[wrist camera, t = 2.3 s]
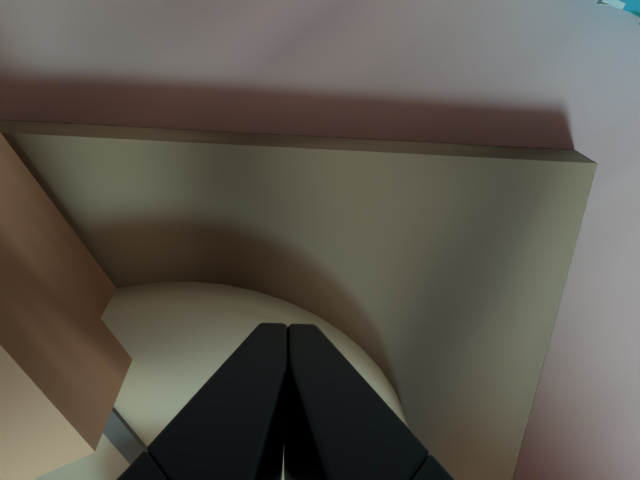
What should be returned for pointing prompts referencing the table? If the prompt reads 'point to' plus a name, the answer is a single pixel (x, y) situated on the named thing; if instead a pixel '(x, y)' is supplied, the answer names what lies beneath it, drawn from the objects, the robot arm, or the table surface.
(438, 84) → the table surface
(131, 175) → the beige square tray
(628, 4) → the chart
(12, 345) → the flange plate
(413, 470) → the robot arm
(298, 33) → the table surface
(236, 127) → the table surface
